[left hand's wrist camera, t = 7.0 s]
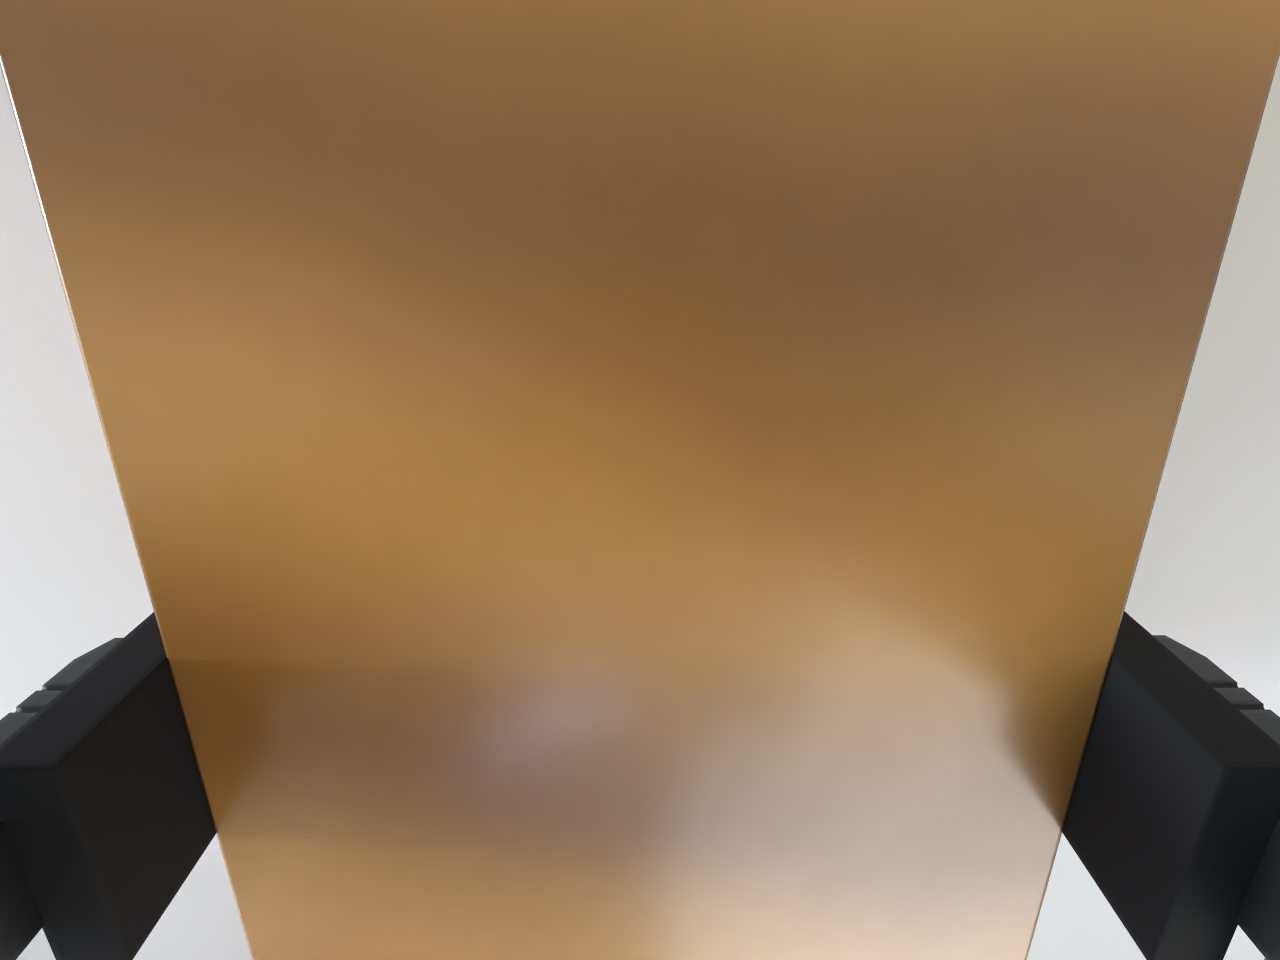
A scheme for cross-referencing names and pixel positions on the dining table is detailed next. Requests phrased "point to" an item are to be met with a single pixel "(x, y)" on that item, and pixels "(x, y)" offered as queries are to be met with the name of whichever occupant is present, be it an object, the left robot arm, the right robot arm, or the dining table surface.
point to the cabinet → (638, 439)
